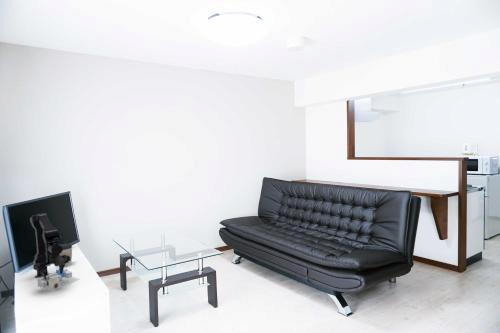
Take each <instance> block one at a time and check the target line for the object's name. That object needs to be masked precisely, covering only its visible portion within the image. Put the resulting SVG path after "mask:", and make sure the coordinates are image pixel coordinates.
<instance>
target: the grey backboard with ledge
mask: <svg viewBox="0 0 500 333" xmlns="http://www.w3.org/2000/svg"><path fill="white" fill-rule="evenodd" d="M54 277H56V278H59V286H58V287H55V288H50V287H49V285H47V281H48V280H49V279H51V278H54ZM36 279H37V286H38V287H40V288H42V289H45V290H48V291H51V292H53V291H56V290H57V289H60V288H62V287H65V286H67V285H71V284H73V283H75V282H77V281H79V280H81V278H78V277H75V276H73V272H72V271H70V270H69V269H68V268H64V269H63V272H62V274H60V270H59V268H57V269H55V272H54V273H51V274H48V275H47V276H46V280H45V279H44V278H43V277H42V276H41V277H38V278H36Z"/></svg>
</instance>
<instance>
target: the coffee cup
mask: <svg viewBox="0 0 500 333" xmlns="http://www.w3.org/2000/svg"><path fill="white" fill-rule="evenodd" d="M58 244H59V243H58ZM59 245H60V246H62V248H63V250H62V252H61V253H60V254H59V255H60V256H61V255H65V254H66V255H68V256H70V259H71V260H70V261H69V262H68V263H66V264H65V266H64V268H68V267H71V266H72V258H73V246H72V244H71V243H69V242H68V243H67V242H66V243H60V244H59Z"/></svg>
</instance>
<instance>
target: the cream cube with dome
mask: <svg viewBox="0 0 500 333" xmlns="http://www.w3.org/2000/svg"><path fill="white" fill-rule="evenodd" d="M47 285H49V287H50V288H55V287H58V286H59V278H56V277H54V278H51V279H49V280H48V281H47Z"/></svg>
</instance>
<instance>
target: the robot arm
mask: <svg viewBox="0 0 500 333" xmlns="http://www.w3.org/2000/svg"><path fill="white" fill-rule="evenodd" d="M29 221H30V224H31V226H32V228H33V229H34V231H35V232H34V233H35V241H36V242H35V244H36V253H35V255H34V259H33V262H32V269H33V270H34V271H36V275H34V278H36V279H38V278H42V277H43V278H44V279H45V280H46V276H48V275H49V274H48V273H49V270H48V267H50V266H51V265H54V266H55V267H58V269H59V270H60V274H62V272H63V269H65V267H64V266H65V264H66V263H68V262H69V261H70V260H71V261H72V259H70V256H68V255H66V254H65V255H61V256H60V255H59V254H60V253H61V252H62V250H63V248H62V246H60V245H59V243H60V242H61V241H62V237H61V236H62V235H61V233H60V231H59V230H58V229H57V227H55V226H53V225H52V224H51V222H50V220H49V218H48V214H47V213H46V212H44V213H42V212H41V213H37V214H35V215H32V216H30V218H29Z"/></svg>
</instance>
